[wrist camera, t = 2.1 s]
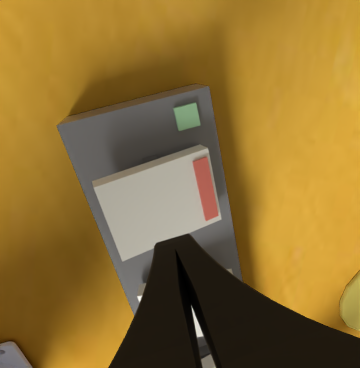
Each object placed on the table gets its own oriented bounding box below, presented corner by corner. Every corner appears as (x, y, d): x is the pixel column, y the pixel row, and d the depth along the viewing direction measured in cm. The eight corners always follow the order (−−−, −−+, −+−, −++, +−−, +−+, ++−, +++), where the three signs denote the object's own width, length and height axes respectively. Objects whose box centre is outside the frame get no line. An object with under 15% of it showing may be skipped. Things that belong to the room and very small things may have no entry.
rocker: (119, 251, 16) (123, 263, 15) (91, 181, 14) (93, 189, 13) (213, 212, 17) (222, 220, 16) (199, 144, 15) (209, 148, 14)
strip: (169, 379, 27) (176, 423, 24) (67, 116, 17) (53, 128, 13) (246, 353, 28) (263, 392, 25) (195, 83, 17) (212, 86, 14)
